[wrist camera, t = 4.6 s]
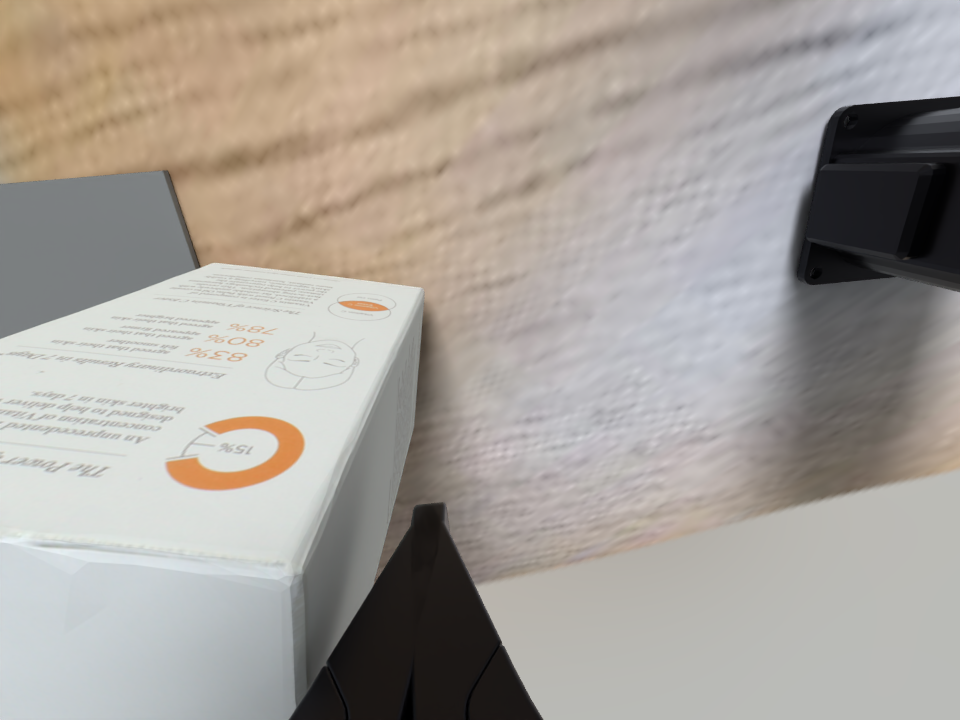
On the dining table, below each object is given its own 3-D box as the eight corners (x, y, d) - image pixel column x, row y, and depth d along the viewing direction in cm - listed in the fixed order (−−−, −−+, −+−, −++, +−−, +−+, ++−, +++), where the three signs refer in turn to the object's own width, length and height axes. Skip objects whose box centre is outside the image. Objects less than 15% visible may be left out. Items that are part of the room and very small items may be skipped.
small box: (228, 408, 19) (-207, 812, 7) (212, 258, 17) (-497, 490, 5) (418, 429, 19) (310, 850, 7) (429, 285, 17) (297, 568, 5)
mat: (167, 170, 16) (162, 170, 15) (261, 455, 20) (259, 459, 20) (-258, 205, 15) (-271, 206, 15) (-57, 489, 20) (-64, 493, 20)
